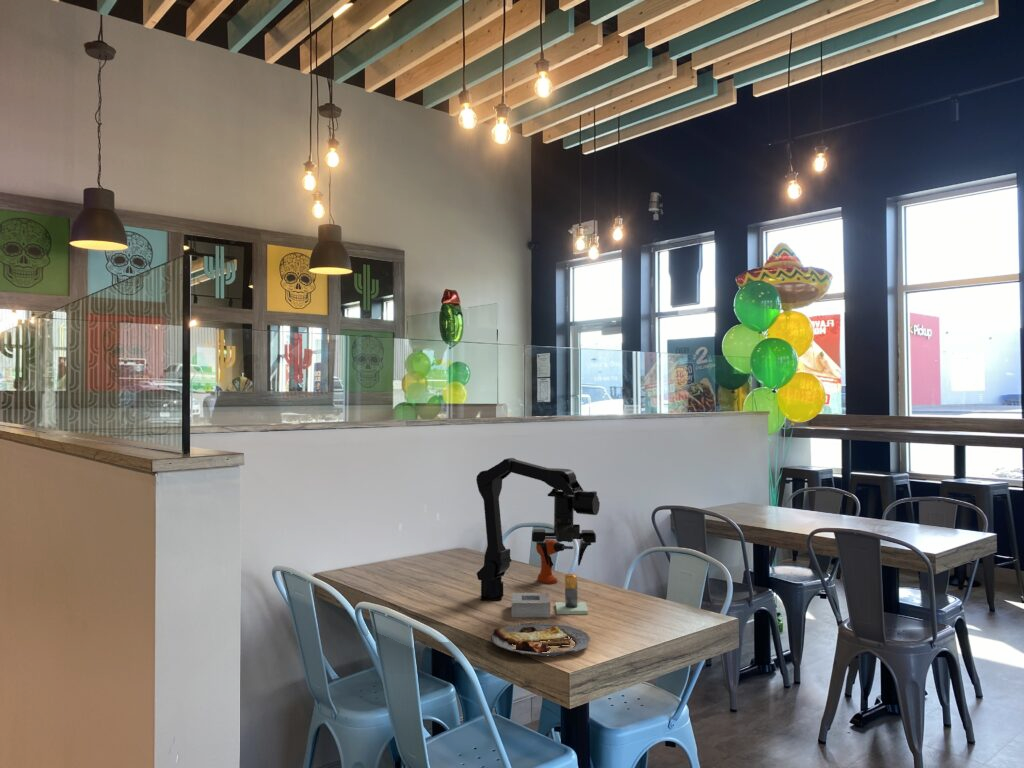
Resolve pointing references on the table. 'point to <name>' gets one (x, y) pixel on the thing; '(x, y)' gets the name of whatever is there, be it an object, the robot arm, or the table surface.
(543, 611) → the block
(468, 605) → the table surface
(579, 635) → the food plate
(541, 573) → the toy drill
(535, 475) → the robot arm
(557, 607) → the green mat
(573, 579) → the gold and grey cylinder
